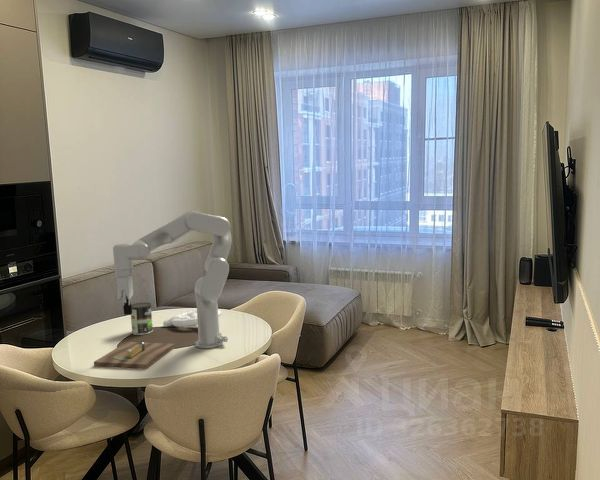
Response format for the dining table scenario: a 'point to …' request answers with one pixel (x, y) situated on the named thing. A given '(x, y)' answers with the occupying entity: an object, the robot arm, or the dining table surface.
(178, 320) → the pretzel
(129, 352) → the peg
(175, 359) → the dining table surface
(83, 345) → the dining table surface
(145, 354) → the tuner board
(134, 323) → the coffee can
